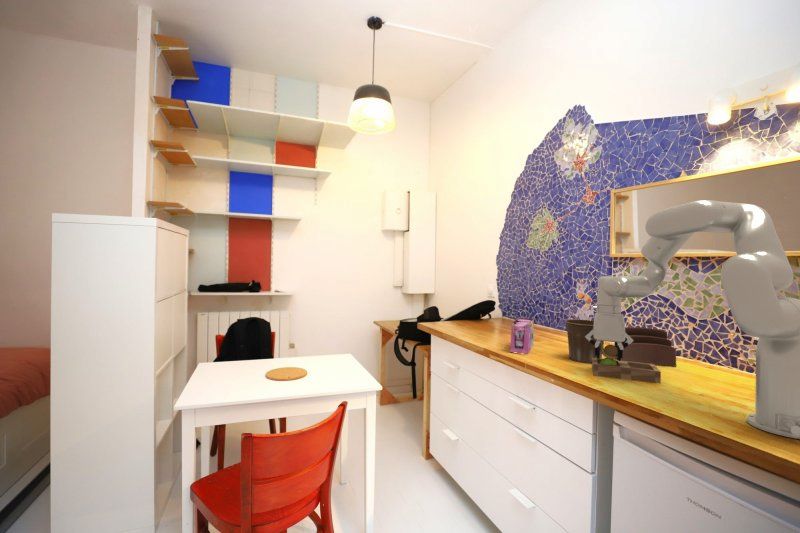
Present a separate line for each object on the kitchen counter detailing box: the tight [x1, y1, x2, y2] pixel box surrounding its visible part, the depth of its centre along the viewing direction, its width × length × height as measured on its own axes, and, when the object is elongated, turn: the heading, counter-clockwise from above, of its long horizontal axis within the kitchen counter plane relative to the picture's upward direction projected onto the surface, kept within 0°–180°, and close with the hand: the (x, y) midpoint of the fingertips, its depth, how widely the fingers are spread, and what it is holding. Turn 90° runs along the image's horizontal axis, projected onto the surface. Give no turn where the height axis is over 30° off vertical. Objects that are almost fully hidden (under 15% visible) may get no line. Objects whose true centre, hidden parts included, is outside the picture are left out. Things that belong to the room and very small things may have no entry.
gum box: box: [509, 317, 535, 355], centre depth 175 cm, size 24×8×14 cm, turn 154°
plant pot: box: [564, 318, 605, 364], centre depth 156 cm, size 16×16×16 cm
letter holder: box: [613, 326, 677, 368], centre depth 155 cm, size 10×20×14 cm, turn 73°
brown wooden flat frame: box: [591, 357, 662, 384], centre depth 134 cm, size 12×20×4 cm, turn 65°
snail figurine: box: [600, 341, 618, 366], centre depth 136 cm, size 5×6×12 cm
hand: (608, 358), depth 136 cm, fingers open, 6 cm apart
